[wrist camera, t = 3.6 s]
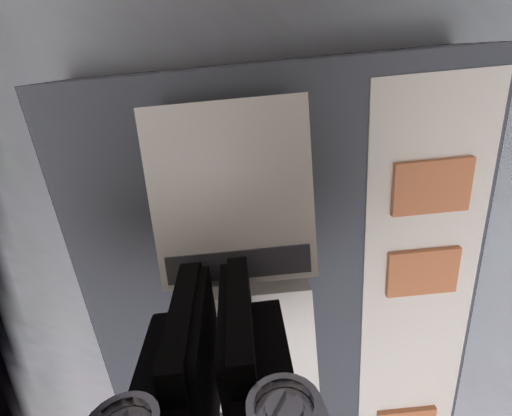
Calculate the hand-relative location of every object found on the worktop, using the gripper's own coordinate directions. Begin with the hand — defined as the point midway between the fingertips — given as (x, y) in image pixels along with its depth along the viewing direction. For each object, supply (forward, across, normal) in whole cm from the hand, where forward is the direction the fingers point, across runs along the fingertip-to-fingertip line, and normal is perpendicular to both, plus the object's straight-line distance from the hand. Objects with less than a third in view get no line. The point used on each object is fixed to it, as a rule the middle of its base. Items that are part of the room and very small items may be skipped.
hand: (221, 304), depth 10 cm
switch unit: (+8, -2, +3) cm, 9 cm away
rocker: (+1, -1, -3) cm, 3 cm away
